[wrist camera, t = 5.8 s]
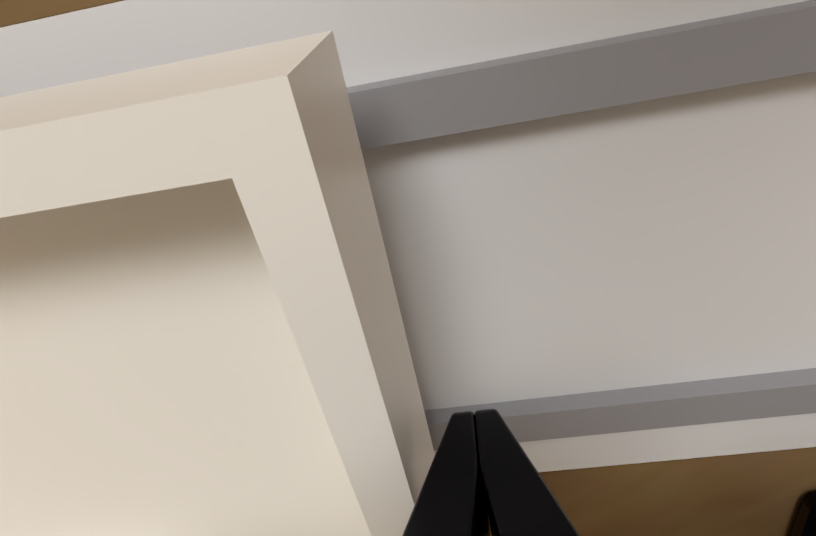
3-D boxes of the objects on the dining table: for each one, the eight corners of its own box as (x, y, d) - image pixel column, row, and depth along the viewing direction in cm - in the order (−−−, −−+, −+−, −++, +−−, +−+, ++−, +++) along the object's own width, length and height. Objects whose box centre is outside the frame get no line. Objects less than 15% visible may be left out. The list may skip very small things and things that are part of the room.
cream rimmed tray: (451, 480, 17) (460, 658, 13) (65, 515, 19) (-40, 684, 14) (346, 15, 10) (287, 75, 5) (-272, 142, 11) (-684, 262, 7)
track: (964, 422, 17) (1032, 483, 15) (11, 511, 21) (-30, 568, 19) (1350, -269, 8) (1624, -332, 6) (-384, 112, 12) (-529, 143, 10)
